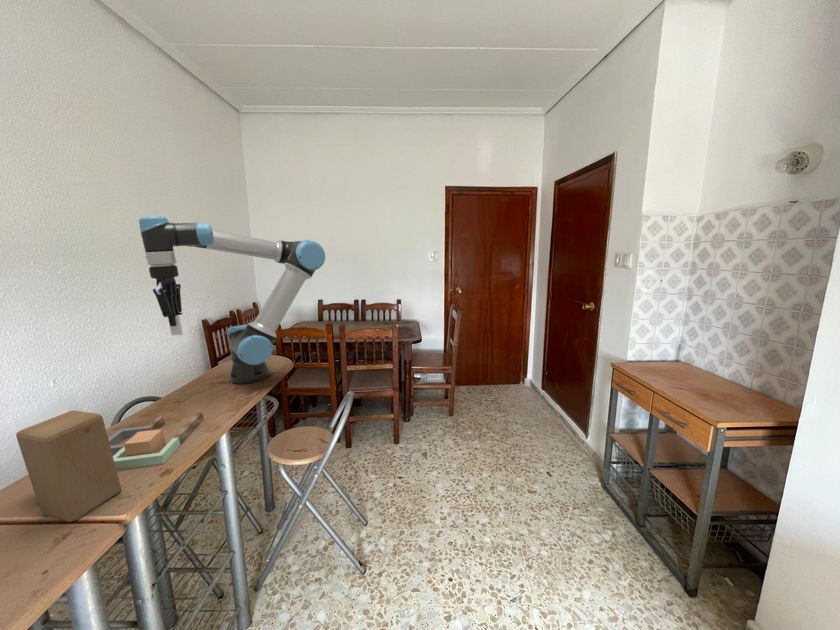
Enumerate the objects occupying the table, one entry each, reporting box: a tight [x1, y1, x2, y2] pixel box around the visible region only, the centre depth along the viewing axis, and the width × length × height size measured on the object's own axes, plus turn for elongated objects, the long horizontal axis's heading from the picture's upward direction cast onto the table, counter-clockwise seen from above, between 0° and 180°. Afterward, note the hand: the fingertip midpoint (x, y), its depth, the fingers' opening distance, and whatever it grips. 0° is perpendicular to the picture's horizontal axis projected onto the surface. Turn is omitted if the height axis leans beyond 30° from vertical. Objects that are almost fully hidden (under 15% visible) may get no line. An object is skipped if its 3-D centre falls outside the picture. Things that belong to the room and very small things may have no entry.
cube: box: [123, 428, 167, 457], centre depth 92 cm, size 6×6×6 cm
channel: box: [145, 411, 204, 446], centre depth 103 cm, size 15×13×2 cm
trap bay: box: [108, 425, 148, 456], centre depth 98 cm, size 11×8×2 cm
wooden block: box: [16, 410, 122, 523], centre depth 74 cm, size 10×10×20 cm
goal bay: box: [113, 437, 181, 471], centre depth 91 cm, size 8×13×2 cm, turn 100°
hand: (177, 334), depth 116 cm, fingers closed
